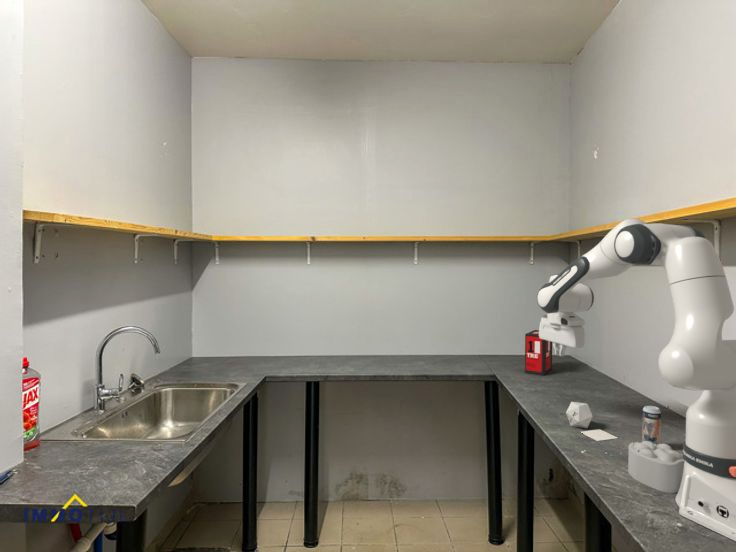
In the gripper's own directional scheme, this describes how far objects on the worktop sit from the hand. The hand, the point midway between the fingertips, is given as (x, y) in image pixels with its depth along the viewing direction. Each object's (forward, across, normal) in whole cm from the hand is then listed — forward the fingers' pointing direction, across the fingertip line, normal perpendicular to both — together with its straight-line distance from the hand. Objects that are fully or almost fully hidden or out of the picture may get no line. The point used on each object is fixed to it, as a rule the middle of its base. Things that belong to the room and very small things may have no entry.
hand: (559, 355), depth 160 cm
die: (+23, +10, 0) cm, 25 cm away
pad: (+22, +19, 0) cm, 29 cm away
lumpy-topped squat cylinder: (+22, +46, -8) cm, 52 cm away
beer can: (+22, +30, +9) cm, 39 cm away
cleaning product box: (+23, -58, +35) cm, 71 cm away
